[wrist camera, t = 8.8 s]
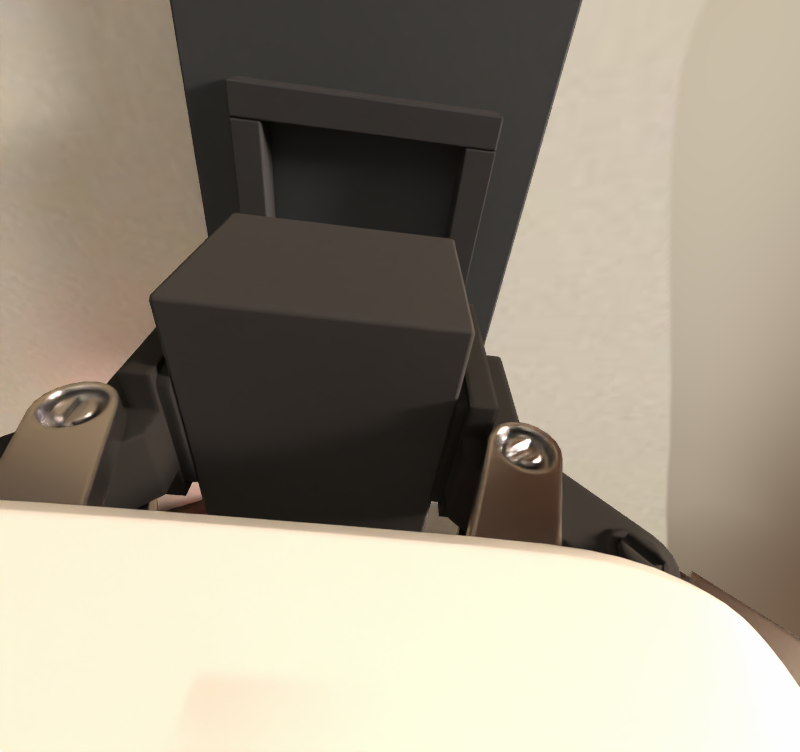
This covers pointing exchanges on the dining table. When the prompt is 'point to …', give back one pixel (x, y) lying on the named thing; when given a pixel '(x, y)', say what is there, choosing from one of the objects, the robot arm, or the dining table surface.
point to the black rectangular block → (316, 368)
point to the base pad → (376, 115)
